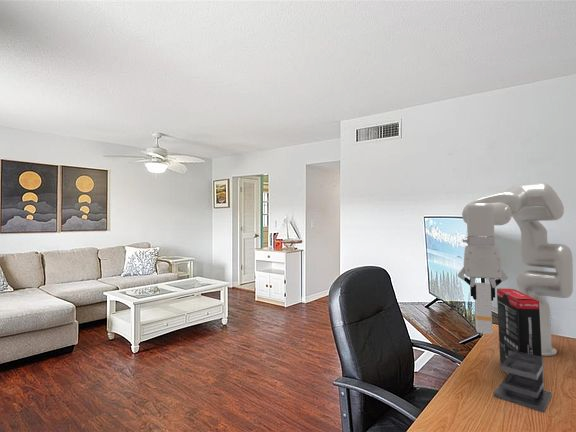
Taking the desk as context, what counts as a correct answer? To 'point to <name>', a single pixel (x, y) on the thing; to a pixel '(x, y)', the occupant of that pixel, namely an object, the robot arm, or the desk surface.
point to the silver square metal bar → (483, 308)
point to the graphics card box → (518, 323)
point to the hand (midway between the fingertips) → (482, 298)
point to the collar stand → (524, 381)
